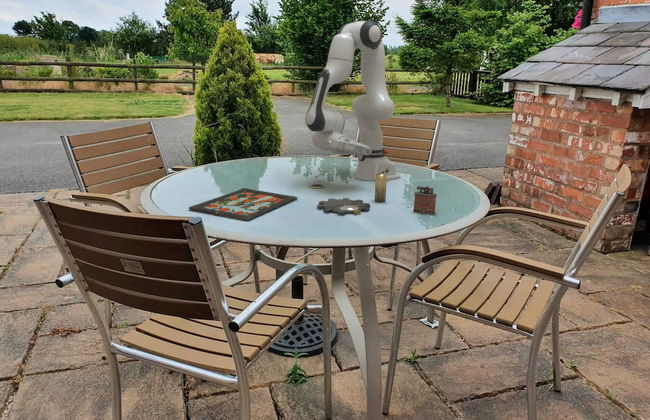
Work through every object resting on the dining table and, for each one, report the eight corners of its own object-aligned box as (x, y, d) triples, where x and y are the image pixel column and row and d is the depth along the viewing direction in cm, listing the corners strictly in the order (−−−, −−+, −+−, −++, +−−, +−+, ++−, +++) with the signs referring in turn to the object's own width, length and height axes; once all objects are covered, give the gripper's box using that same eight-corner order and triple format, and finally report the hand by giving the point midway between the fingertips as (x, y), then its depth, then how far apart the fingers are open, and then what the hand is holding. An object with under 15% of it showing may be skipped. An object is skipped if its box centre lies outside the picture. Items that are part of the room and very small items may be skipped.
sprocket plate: (352, 198, 197) (352, 195, 196) (380, 211, 180) (380, 208, 180) (308, 204, 188) (308, 201, 187) (333, 218, 171) (334, 214, 171)
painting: (299, 201, 196) (299, 196, 195) (249, 225, 166) (249, 219, 165) (242, 191, 207) (242, 186, 206) (186, 212, 177) (185, 205, 176)
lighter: (435, 212, 180) (437, 186, 177) (434, 214, 177) (436, 188, 174) (413, 210, 183) (415, 184, 180) (412, 212, 179) (414, 186, 177)
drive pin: (381, 199, 197) (382, 172, 194) (387, 201, 193) (389, 174, 190) (372, 200, 195) (373, 173, 192) (378, 203, 191) (379, 175, 188)
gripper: (324, 133, 202) (346, 138, 192) (357, 141, 216) (380, 146, 206) (320, 147, 203) (343, 154, 193) (354, 154, 217) (376, 161, 207)
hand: (362, 150), depth 199 cm, fingers open, 8 cm apart
